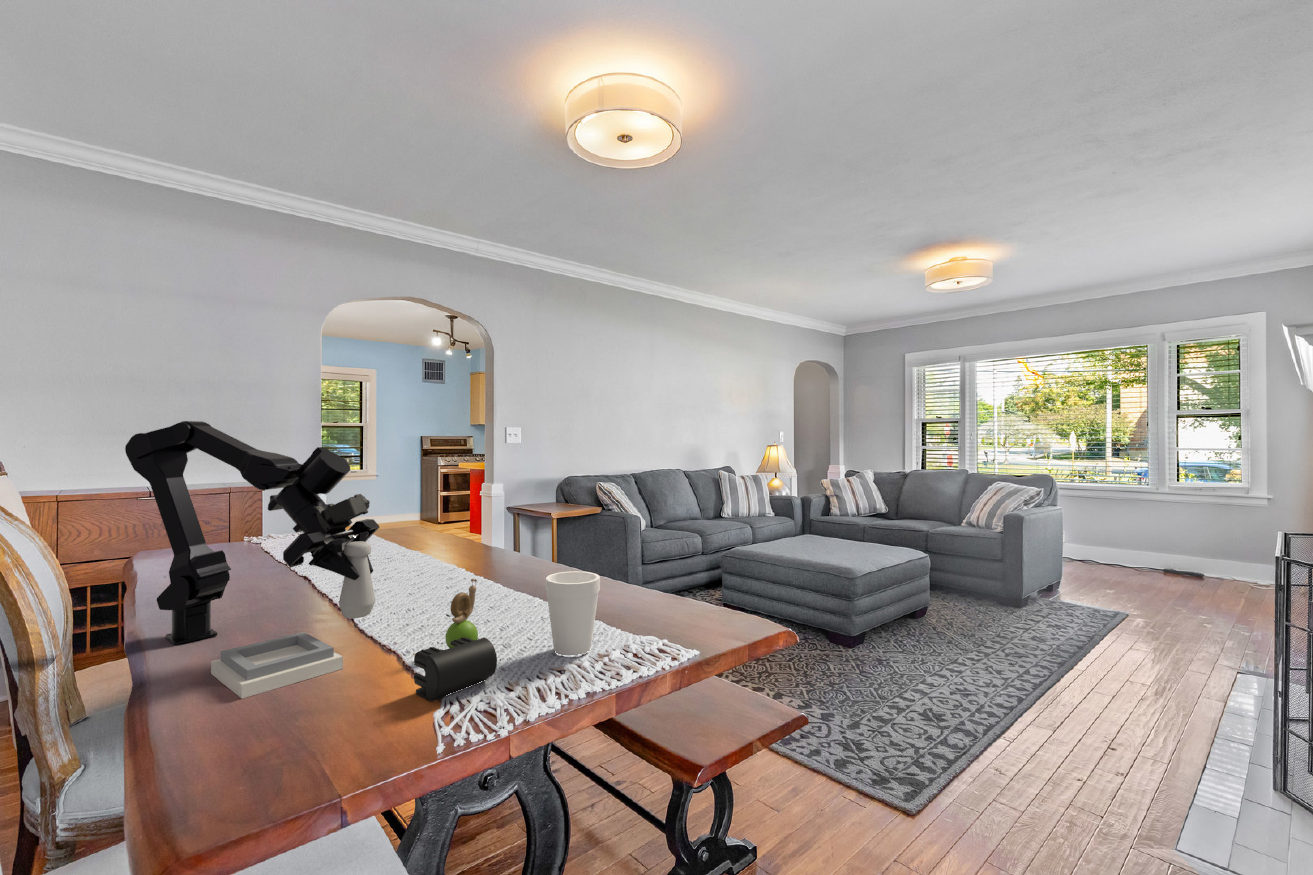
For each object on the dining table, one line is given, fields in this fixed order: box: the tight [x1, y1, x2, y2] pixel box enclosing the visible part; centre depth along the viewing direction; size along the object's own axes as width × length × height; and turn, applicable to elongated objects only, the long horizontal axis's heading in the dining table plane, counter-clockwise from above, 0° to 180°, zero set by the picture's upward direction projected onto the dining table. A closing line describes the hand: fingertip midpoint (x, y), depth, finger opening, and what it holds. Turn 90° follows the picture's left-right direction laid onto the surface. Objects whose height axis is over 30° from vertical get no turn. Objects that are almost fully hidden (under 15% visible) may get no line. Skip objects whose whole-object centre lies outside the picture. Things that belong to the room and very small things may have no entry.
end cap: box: [413, 637, 498, 703], centre depth 88 cm, size 10×7×7 cm
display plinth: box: [210, 631, 344, 699], centre depth 95 cm, size 14×14×4 cm
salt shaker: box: [338, 541, 376, 620], centre depth 105 cm, size 6×6×13 cm
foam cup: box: [545, 570, 601, 655], centre depth 104 cm, size 10×9×13 cm
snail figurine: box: [444, 578, 479, 649], centre depth 104 cm, size 5×6×12 cm
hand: (364, 575), depth 105 cm, fingers closed on salt shaker, 3 cm apart
